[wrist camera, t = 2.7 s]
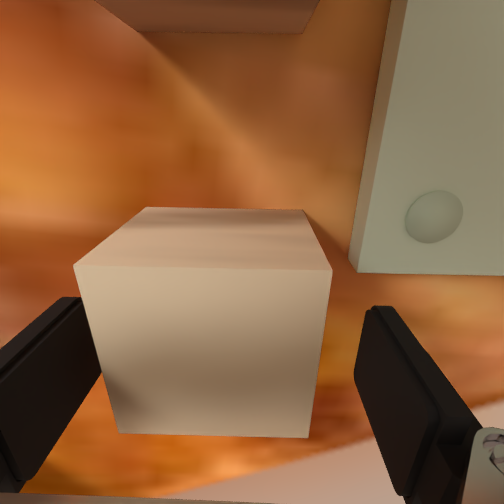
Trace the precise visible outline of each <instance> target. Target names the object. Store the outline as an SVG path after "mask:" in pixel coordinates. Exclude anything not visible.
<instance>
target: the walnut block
mask: <svg viewBox="0 0 504 504" xmlns="http://www.w3.org/2000/svg"><path fill="white" fill-rule="evenodd" d="M95 1H96V2H97V3H99V4H100V5H101V6H103V7H104V8H106V9H107V10H108V11H110V12H111V13H112V14H114V15H115V16H117V17H118V18H119V19H121V20H122V21H123V22H125V23H126V24H128V25H129V26H130V27H132V28H133V29H135V30H136V31H137V32H203V33H280V34H302V33H303V31H304V29H305V27H306V25H307V23H308V21H309V20H310V18H311V16H312V14H313V12H314V10H315V8H316V6H317V4H318V3H319V1H320V0H95Z"/></svg>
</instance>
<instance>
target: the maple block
mask: <svg viewBox="0 0 504 504" xmlns="http://www.w3.org/2000/svg"><path fill="white" fill-rule="evenodd" d="M73 268H74V271H75V275H76V279H77V282H78V286H79V290H80V293H81V297H82V300H83V304H84V308H85V311H86V315H87V319H88V322H89V326H90V330H91V333H92V337H93V341H94V344H95V348H96V351H97V355H98V359H99V362H100V366H101V370H102V373H103V377H104V381H105V384H106V388H107V392H108V395H109V399H110V402H111V406H112V410H113V413H114V417H115V421H116V424H117V428H118V432H119V433H130V434H169V435H207V436H246V437H284V438H308V435H309V428H310V421H311V415H312V408H313V401H314V394H315V388H316V381H317V374H318V367H319V361H320V354H321V347H322V340H323V333H324V327H325V320H326V313H327V306H328V300H329V293H330V286H331V279H332V272H333V270H332V268H331V266H330V264H329V262H328V260H327V258H326V256H325V254H324V252H323V250H322V248H321V246H320V244H319V242H318V240H317V238H316V236H315V234H314V232H313V230H312V228H311V226H310V224H309V222H308V220H307V218H306V216H305V214H304V212H303V210H282V209H227V208H171V207H146V208H144V209H143V210H142V211H141V212H139V213H138V214H137V215H136V216H134V217H133V218H132V219H131V220H129V221H128V222H127V223H125V224H124V225H123V226H122V227H120V228H119V229H118V230H117V231H115V232H114V233H113V234H112V235H110V236H109V237H108V238H107V239H105V240H104V241H103V242H102V243H100V244H99V245H98V246H97V247H95V248H94V249H93V250H91V251H90V252H89V253H88V254H86V255H85V256H84V257H83V258H81V259H80V260H79V261H78V262H76V263H75V264H74V265H73Z"/></svg>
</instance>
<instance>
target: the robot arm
mask: <svg viewBox="0 0 504 504" xmlns="http://www.w3.org/2000/svg"><path fill="white" fill-rule="evenodd" d="M101 372H102V370H101V366H100V362H99V359H98V355H97V351H96V348H95V344H94V341H93V337H92V333H91V330H90V326H89V322H88V319H87V315H86V311H85V308H84V304H83V300H82V298H81V297H62V298H60V299H59V300H57V301H56V302H55V303H54V304H53V305H52V306H50V307H49V308H48V309H47V310H46V311H45V312H43V313H42V314H41V315H40V316H39V317H37V318H36V319H35V320H34V321H33V322H32V323H30V324H29V325H28V326H27V327H26V328H25V329H23V330H22V331H21V332H20V333H19V334H18V335H16V336H15V337H14V338H13V339H12V340H11V341H9V342H8V343H7V344H6V345H5V346H3V347H2V348H1V349H0V504H271V503H249V502H227V501H205V500H183V499H159V498H135V497H111V496H84V495H56V494H28V493H19V492H20V490H21V489H22V487H23V486H24V484H25V483H26V481H27V480H30V479H32V478H33V477H34V476H35V474H36V473H37V471H38V470H39V468H40V467H41V465H42V464H43V462H44V461H45V459H46V458H47V456H48V454H49V453H50V451H51V450H52V448H53V447H54V445H55V444H56V442H57V441H58V439H59V438H60V436H61V434H62V433H63V431H64V430H65V428H66V427H67V425H68V424H69V422H70V421H71V419H72V417H73V416H74V414H75V413H76V411H77V410H78V408H79V407H80V405H81V404H82V402H83V401H84V399H85V397H86V396H87V394H88V393H89V391H90V390H91V388H92V387H93V385H94V384H95V382H96V380H97V379H98V377H99V376H100V374H101ZM354 380H355V384H356V386H357V389H358V392H359V395H360V397H361V400H362V403H363V406H364V408H365V411H366V414H367V416H368V419H369V422H370V425H371V427H372V430H373V433H374V435H375V438H376V441H377V444H378V446H379V449H380V452H381V454H382V457H383V460H384V463H385V465H386V468H387V470H388V473H389V476H390V479H391V482H392V484H393V487H394V489H395V491H396V493H397V494H398V495H399V496H403V498H404V500H405V503H406V504H504V430H503V429H499V428H494V427H489V428H483V427H482V426H481V424H480V423H479V422H478V420H477V419H476V417H475V416H474V415H473V413H472V412H471V411H470V409H469V408H468V407H467V405H466V404H465V403H464V401H463V400H462V398H461V397H460V396H459V394H458V393H457V392H456V390H455V389H454V388H453V386H452V385H451V384H450V382H449V381H448V379H447V378H446V377H445V375H444V374H443V373H442V371H441V370H440V369H439V367H438V366H437V365H436V363H435V362H434V361H433V359H432V358H431V356H430V355H429V354H428V353H427V352H426V351H425V349H424V348H423V347H422V346H421V344H420V343H419V342H418V340H417V339H416V338H415V336H414V335H413V333H412V332H411V331H410V329H409V328H408V327H407V325H406V324H405V323H404V321H403V320H402V318H401V317H400V316H399V314H398V313H397V312H396V310H395V309H394V308H393V307H392V306H373V307H372V308H371V310H367V311H366V314H365V318H364V323H363V328H362V333H361V338H360V343H359V348H358V353H357V358H356V363H355V368H354Z"/></svg>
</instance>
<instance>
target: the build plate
mask: <svg viewBox="0 0 504 504" xmlns="http://www.w3.org/2000/svg"><path fill="white" fill-rule="evenodd" d="M348 260H349V262H350V263H351V265H352V266H353V268H354V269H355V271H356V272H357V273H392V274H442V275H492V276H504V0H391V5H390V11H389V17H388V23H387V28H386V34H385V40H384V46H383V52H382V58H381V64H380V70H379V76H378V82H377V88H376V94H375V99H374V105H373V111H372V117H371V123H370V129H369V135H368V141H367V147H366V153H365V159H364V165H363V171H362V176H361V182H360V188H359V194H358V200H357V206H356V212H355V218H354V224H353V230H352V236H351V242H350V247H349V253H348Z"/></svg>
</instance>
